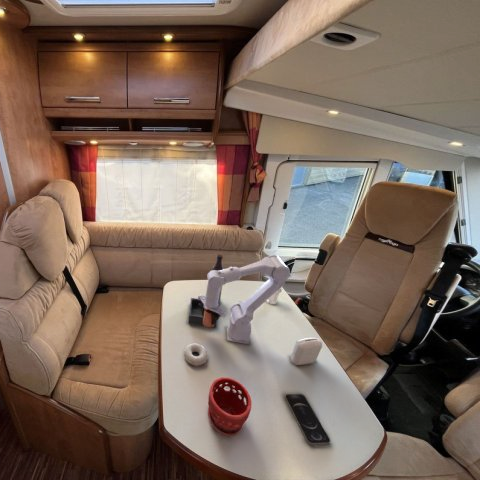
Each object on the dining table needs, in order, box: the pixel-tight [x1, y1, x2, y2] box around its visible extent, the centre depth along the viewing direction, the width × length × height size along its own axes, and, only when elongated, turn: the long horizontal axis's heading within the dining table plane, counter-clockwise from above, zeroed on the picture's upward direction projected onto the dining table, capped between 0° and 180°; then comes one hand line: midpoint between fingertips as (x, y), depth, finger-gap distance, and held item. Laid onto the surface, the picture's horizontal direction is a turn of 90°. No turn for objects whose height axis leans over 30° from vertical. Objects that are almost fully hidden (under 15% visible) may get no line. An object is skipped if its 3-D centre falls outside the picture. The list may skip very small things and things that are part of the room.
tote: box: [187, 297, 217, 329], centre depth 122 cm, size 14×14×5 cm
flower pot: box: [207, 376, 253, 437], centre depth 77 cm, size 13×13×12 cm
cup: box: [266, 286, 283, 305], centre depth 132 cm, size 7×7×11 cm
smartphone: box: [284, 393, 331, 446], centre depth 80 cm, size 8×1×15 cm
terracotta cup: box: [203, 308, 214, 328], centre depth 107 cm, size 5×5×8 cm
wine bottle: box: [210, 254, 225, 305], centre depth 127 cm, size 7×7×30 cm
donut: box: [183, 343, 208, 366], centre depth 100 cm, size 10×3×10 cm
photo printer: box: [290, 337, 323, 366], centre depth 97 cm, size 10×4×12 cm, turn 100°
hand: (209, 319), depth 108 cm, fingers closed on terracotta cup, 5 cm apart
